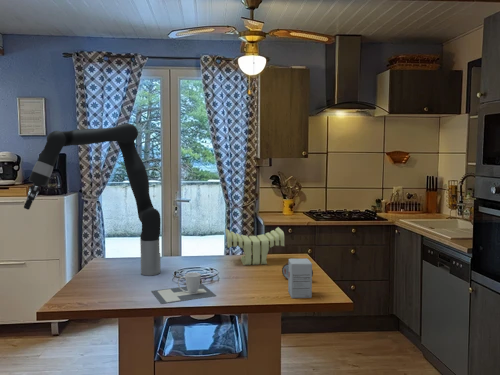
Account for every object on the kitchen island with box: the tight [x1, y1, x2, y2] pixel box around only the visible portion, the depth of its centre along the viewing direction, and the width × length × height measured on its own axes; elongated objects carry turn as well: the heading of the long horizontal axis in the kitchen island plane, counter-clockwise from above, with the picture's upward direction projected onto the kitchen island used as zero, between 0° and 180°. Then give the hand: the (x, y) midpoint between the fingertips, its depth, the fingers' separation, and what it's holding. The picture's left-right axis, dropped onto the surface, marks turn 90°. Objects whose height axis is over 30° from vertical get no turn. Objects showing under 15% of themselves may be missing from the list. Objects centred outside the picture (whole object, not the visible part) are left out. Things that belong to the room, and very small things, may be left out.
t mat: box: [150, 283, 217, 305], centre depth 201 cm, size 24×18×1 cm
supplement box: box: [287, 258, 313, 299], centre depth 199 cm, size 9×9×15 cm
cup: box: [177, 271, 202, 294], centre depth 202 cm, size 7×10×8 cm
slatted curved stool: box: [225, 226, 285, 266], centre depth 253 cm, size 30×16×18 cm, turn 98°
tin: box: [281, 261, 314, 280], centre depth 221 cm, size 15×3×8 cm, turn 65°
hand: (26, 208), depth 199 cm, fingers open, 8 cm apart
